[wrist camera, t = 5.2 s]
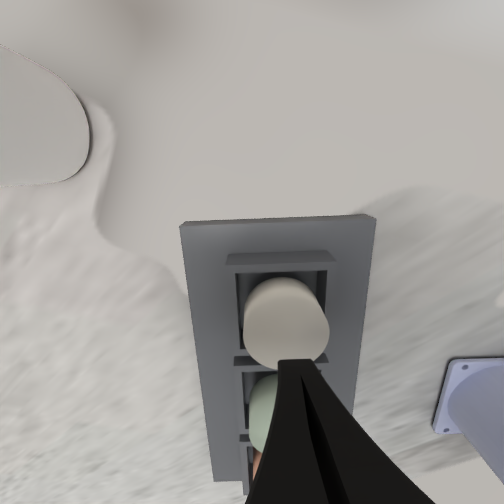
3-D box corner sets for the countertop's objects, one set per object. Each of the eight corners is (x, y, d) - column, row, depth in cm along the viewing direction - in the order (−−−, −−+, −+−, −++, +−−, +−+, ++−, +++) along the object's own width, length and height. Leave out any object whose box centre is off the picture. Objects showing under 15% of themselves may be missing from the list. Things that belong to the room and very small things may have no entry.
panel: (365, 214, 16) (394, 225, 13) (338, 459, 24) (353, 506, 20) (185, 221, 16) (168, 234, 13) (216, 463, 24) (210, 510, 21)
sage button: (313, 372, 16) (324, 405, 14) (311, 420, 18) (320, 457, 15) (247, 374, 16) (247, 407, 14) (250, 422, 18) (250, 459, 15)
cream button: (319, 275, 14) (332, 295, 12) (315, 339, 15) (326, 368, 13) (242, 278, 14) (240, 299, 12) (246, 341, 15) (245, 371, 13)
